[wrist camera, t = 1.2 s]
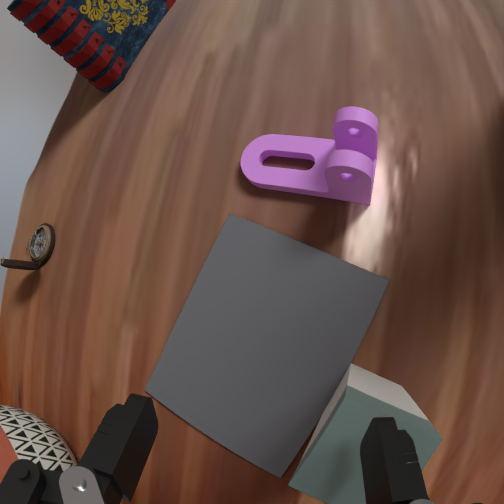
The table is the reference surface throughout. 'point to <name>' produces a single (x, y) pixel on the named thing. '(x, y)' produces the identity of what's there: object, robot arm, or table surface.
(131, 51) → the book
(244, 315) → the rubber mat
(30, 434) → the planter
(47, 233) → the compass
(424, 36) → the table surface
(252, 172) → the bracket
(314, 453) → the tall block
